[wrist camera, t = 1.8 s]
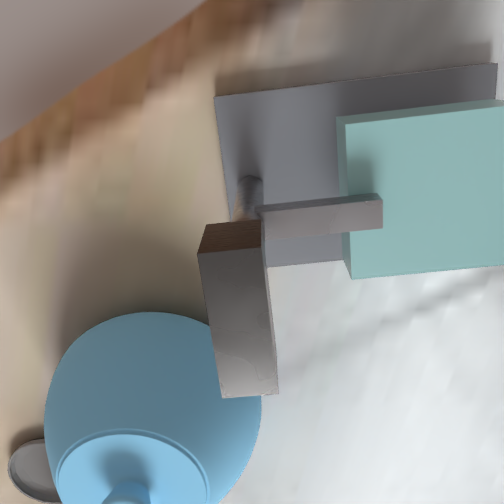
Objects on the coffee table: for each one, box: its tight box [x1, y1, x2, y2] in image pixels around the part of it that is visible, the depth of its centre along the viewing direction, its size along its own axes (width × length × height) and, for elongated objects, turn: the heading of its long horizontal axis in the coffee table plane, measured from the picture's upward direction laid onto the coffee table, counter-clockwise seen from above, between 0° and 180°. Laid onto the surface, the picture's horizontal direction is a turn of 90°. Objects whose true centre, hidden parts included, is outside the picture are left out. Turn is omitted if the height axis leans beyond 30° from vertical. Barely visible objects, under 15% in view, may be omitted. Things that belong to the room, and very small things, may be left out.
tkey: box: [197, 175, 383, 399], centre depth 22 cm, size 7×5×16 cm
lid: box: [336, 99, 504, 280], centre depth 25 cm, size 8×8×3 cm
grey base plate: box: [214, 63, 498, 267], centre depth 28 cm, size 16×11×4 cm
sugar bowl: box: [44, 312, 261, 504], centre depth 31 cm, size 15×15×12 cm
